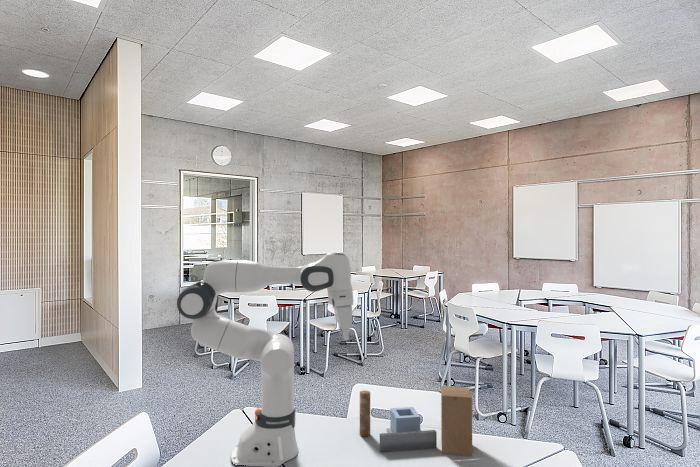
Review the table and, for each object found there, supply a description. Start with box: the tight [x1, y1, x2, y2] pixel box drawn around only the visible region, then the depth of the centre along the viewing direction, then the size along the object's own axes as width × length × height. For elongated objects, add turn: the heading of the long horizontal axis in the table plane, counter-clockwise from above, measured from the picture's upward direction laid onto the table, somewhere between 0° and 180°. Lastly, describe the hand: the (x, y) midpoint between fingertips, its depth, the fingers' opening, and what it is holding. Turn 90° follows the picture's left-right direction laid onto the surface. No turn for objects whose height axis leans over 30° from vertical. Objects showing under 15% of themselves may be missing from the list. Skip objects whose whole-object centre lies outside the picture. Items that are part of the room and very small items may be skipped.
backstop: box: [379, 427, 438, 454], centre depth 148 cm, size 20×16×6 cm
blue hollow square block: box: [389, 406, 421, 433], centre depth 153 cm, size 9×9×8 cm
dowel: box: [359, 390, 371, 438], centre depth 152 cm, size 4×4×16 cm
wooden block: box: [440, 385, 473, 457], centre depth 142 cm, size 10×10×20 cm
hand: (344, 336), depth 144 cm, fingers open, 8 cm apart
